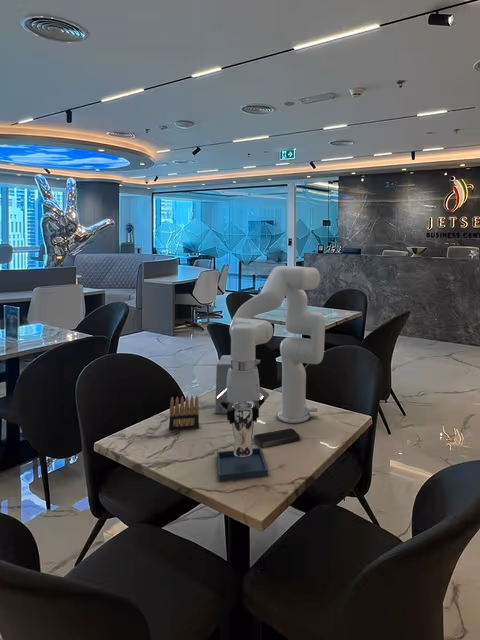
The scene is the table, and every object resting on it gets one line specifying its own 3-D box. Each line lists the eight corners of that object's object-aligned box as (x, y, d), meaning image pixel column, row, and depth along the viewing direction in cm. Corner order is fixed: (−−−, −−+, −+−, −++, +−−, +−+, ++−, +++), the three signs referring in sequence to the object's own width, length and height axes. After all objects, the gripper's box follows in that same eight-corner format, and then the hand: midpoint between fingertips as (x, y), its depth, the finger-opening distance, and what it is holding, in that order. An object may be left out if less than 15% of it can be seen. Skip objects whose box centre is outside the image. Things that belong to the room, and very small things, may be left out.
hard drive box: (234, 414, 176) (234, 364, 176) (214, 414, 176) (215, 364, 176) (238, 400, 192) (239, 354, 192) (220, 400, 192) (221, 354, 192)
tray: (260, 453, 144) (261, 447, 144) (267, 475, 130) (267, 469, 130) (217, 457, 141) (217, 451, 141) (219, 481, 127) (219, 475, 127)
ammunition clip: (198, 426, 165) (199, 394, 165) (198, 428, 163) (199, 395, 163) (169, 428, 162) (169, 396, 162) (168, 430, 160) (169, 397, 160)
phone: (300, 436, 154) (260, 444, 148) (300, 440, 154) (260, 447, 148) (292, 427, 161) (253, 434, 155) (292, 431, 161) (253, 437, 155)
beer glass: (256, 448, 140) (256, 401, 139) (251, 459, 133) (251, 410, 132) (234, 447, 140) (234, 400, 140) (228, 458, 133) (229, 409, 133)
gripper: (268, 359, 142) (268, 413, 142) (214, 362, 137) (214, 418, 138) (272, 366, 134) (272, 423, 135) (215, 370, 130) (214, 429, 130)
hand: (242, 420), depth 136 cm, fingers closed on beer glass, 7 cm apart
